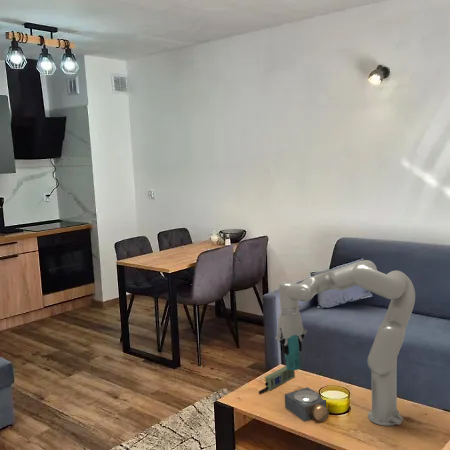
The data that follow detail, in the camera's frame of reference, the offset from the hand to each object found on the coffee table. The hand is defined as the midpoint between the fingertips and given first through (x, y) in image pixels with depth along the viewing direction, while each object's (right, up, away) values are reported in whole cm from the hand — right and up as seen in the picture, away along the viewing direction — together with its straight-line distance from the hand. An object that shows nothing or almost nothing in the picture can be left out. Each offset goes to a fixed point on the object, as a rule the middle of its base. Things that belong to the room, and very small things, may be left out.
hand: (292, 351), depth 216 cm
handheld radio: (-4, -22, +23) cm, 32 cm away
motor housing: (+6, -24, -5) cm, 25 cm away
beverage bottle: (+1, -9, +1) cm, 9 cm away
